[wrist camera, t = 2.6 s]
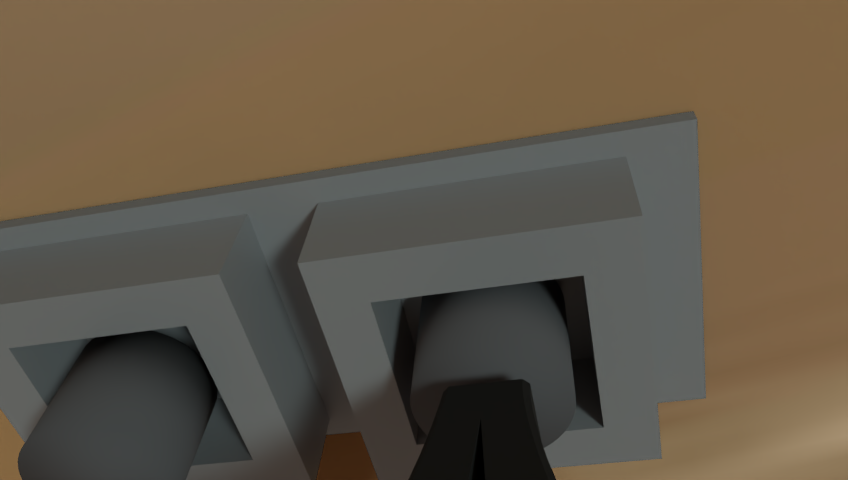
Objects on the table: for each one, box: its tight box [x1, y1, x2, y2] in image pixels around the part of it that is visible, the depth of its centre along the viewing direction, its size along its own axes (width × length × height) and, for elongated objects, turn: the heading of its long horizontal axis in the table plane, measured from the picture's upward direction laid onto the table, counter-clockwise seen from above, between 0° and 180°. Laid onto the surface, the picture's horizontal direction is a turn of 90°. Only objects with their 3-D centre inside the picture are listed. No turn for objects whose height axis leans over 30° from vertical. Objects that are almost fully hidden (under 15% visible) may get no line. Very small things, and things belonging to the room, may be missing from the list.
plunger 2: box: [410, 279, 576, 448], centre depth 15 cm, size 3×3×2 cm
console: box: [0, 111, 706, 480], centre depth 16 cm, size 15×7×2 cm, turn 102°
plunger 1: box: [18, 330, 218, 480], centre depth 15 cm, size 3×3×2 cm
